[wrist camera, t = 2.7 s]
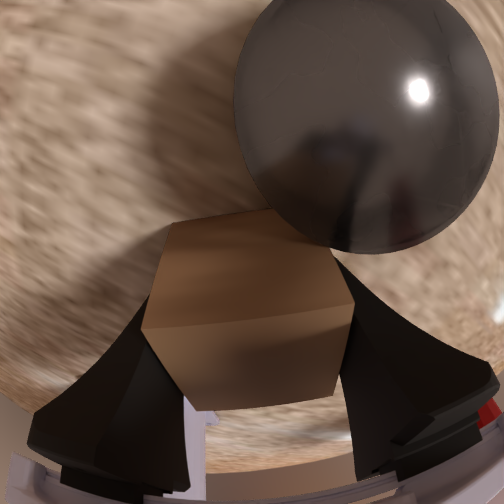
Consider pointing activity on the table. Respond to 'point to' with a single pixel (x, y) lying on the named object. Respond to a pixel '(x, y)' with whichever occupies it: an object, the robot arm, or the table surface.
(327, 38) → the grey metal cylinder
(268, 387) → the walnut block
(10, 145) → the table surface
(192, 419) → the robot arm
